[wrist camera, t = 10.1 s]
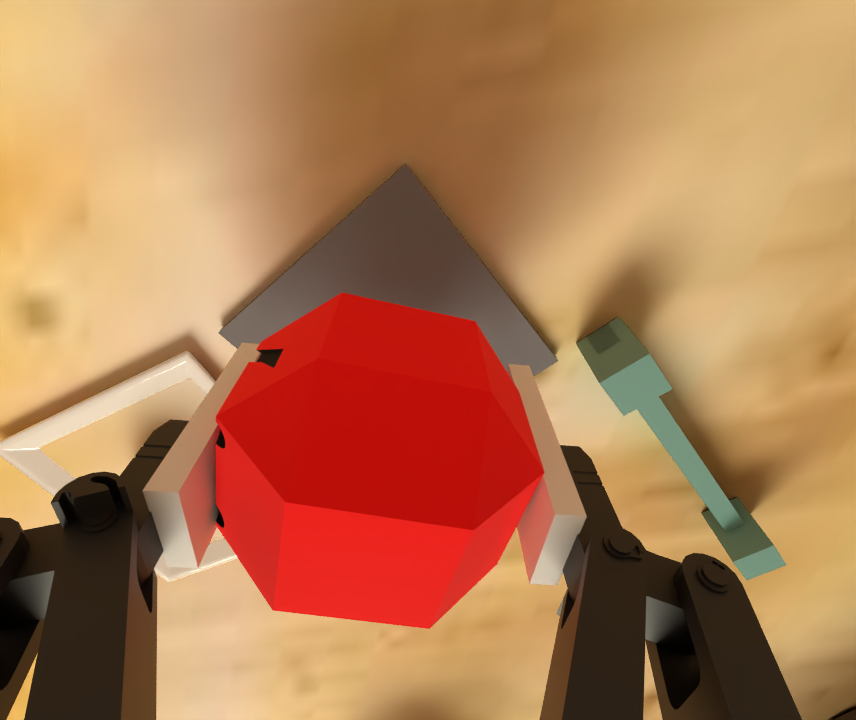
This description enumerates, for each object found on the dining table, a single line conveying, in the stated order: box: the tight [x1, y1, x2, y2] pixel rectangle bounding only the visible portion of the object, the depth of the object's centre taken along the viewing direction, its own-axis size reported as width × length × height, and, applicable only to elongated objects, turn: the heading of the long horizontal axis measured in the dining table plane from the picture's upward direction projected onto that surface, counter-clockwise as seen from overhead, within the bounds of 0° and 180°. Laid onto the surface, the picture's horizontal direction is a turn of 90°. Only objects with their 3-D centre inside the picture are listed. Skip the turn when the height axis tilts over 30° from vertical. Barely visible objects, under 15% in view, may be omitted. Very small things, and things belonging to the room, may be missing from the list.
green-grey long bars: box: [576, 317, 786, 580], centre depth 19 cm, size 16×16×3 cm
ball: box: [216, 293, 545, 629], centre depth 13 cm, size 8×8×8 cm
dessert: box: [0, 351, 238, 582], centre depth 22 cm, size 12×12×5 cm
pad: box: [219, 164, 558, 376], centre depth 19 cm, size 10×10×1 cm
